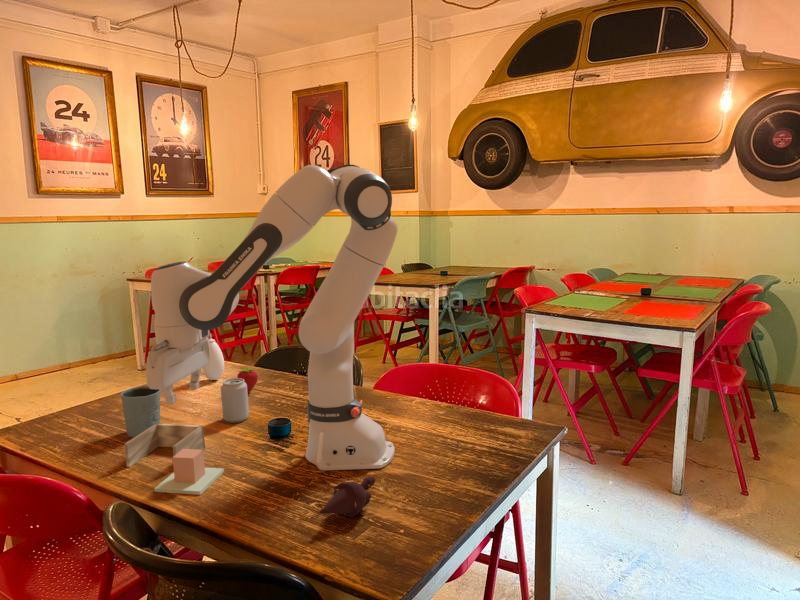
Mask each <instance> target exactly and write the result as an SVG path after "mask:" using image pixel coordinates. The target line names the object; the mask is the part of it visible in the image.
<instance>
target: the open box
mask: <svg viewBox="0 0 800 600" xmlns="http://www.w3.org/2000/svg"><path fill="white" fill-rule="evenodd" d="M204 429H205V428H204V425H196V424H194V425H193V424H176V423H175V424H173V423H172V424H169V423H160V424H154V425H153V426H151V427H150V428H148V429H147V430H145V431H144V432H142V433H140V434H139V435H137V436H136V437H134V438H131V439H130V440H128V441H127V442H125V443H124V455H125V461H126V467H127V468H130V467H132V466H133V465H136V463H138V462H140V461H141V460H142V459H143V458H145V457H146V456H148V455H149V454H150V453H152V452H153V451H155V450H156V449H157V448H159V447H162V448H163V447H164V448H165V447H168V448H172V454H173V456H172V457H174V456H175V455H176V454H177V453H179V452H180V451H181V450H182V449H198V450H204V449H205V448H206V444H205V430H204Z"/></svg>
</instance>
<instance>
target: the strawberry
mask: <svg viewBox="0 0 800 600" xmlns="http://www.w3.org/2000/svg"><path fill="white" fill-rule="evenodd" d="M244 366H245V368H242V370H238V373H237V377H236V378H242V379H244V382H245V383H246V384H247V393H250V392H252V390H253V389H254V387H255V386H256V385H257V383H258V379H259V376H258V373H256V371H255V369H254V368H251V367H249V368H247V366H246V365H244Z"/></svg>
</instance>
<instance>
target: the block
mask: <svg viewBox="0 0 800 600" xmlns="http://www.w3.org/2000/svg"><path fill="white" fill-rule="evenodd" d="M204 456H205V454H204V449H202V450H198V449H182V450H181V451H180V452H179V453H177V454H176V455H175V456H172V465H173V473H174V477H175V482H182V483H196V482H197V481H198V480H199V479H200V478H202V477H203V476H204V475H205V466H206V465H205V457H204Z"/></svg>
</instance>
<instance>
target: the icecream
mask: <svg viewBox="0 0 800 600" xmlns="http://www.w3.org/2000/svg"><path fill="white" fill-rule="evenodd" d="M375 484H376V478H375V477H374V476H368V477H364V479H363V480H362V481H361V482H360V484H359V483H358V482H356V481H346V482H340V483H339V484H337V485H335V486H334V487H333V490H334V492H333V495H332V497H331V498H330V499H329V500H328V502H326V504H325V505H324V506H323V507H322V508H321V510H320V511H319V513H320V514H321V515H322V514H323V515H325V514H345V515H348V516H350V517H353V518H354V517H356V515H358V514H359V513H360V512H362V511H363V510H364V507H365V505H366V503H368V502H369V501H370V500H371V498H372V494H371V492H369V491H368V490H369V489H370V488H372V487H373V486H374V485H375ZM345 515H344V516H345ZM348 516H347V517H348ZM350 517H349V518H350Z"/></svg>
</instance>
